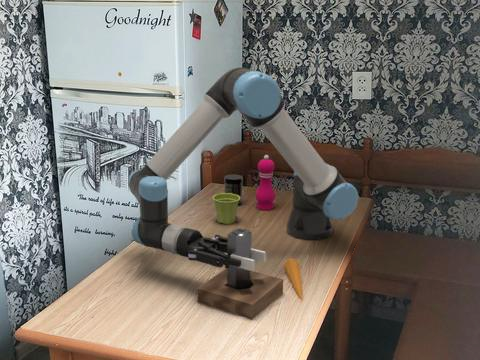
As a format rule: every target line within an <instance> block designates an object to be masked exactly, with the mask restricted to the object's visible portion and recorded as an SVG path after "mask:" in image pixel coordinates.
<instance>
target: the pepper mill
mask: <svg viewBox="0 0 480 360" xmlns="http://www.w3.org/2000/svg"><path fill="white" fill-rule="evenodd" d="M275 167H276V166H275V162H274V161H273V160H272V159H270V157H269V154H265V155H264V156H263V159H261V160H259V162H258V164H257V169H258V171H259V172H258V176H259V178H260V181H259V182H260V183H259V186H258V188H257V190H256V192H255V199H256V200H257V202H256V209H258V210H260V211H270V210H273V209H274V207H275V206H274V205H275V204H274V200H276V192H275V190H274V187H273V184H272V178H273V176H274V175H273V174H274V172H273V171H274V170H275Z"/></svg>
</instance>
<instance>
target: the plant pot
mask: <svg viewBox="0 0 480 360" xmlns="http://www.w3.org/2000/svg"><path fill="white" fill-rule="evenodd" d="M212 200H213V203H214V204H215V205H214V206H215V211H216V219H217V222H218V223H220V224H224V225H230V224H233V223H235V222H236V218H237V217H236V216H237V211H238V206H239V205H238V203H239V200H240V196H238V195H236V194H231V193H225V192H221V193H218V194H214V195H213V196H212ZM237 205H238V206H237Z"/></svg>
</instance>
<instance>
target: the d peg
mask: <svg viewBox="0 0 480 360" xmlns="http://www.w3.org/2000/svg"><path fill="white" fill-rule="evenodd" d="M227 238H228V242H227V253H226V254H227V255H229V257H230V255H231V254H234V255H238V256H241V257H245V258H249V259H251V248H252V231H251V230H248V229H245V228H241V227H237V228H236V229H234V230H232V231H230V232H228V233H227ZM250 282H251V271H250V270H246V269H243V268H239V267H235V266H232V265H229V268H227V287H231V288H234V289H238V290H239V289H248V288H250Z"/></svg>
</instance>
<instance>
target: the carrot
mask: <svg viewBox="0 0 480 360" xmlns="http://www.w3.org/2000/svg"><path fill="white" fill-rule="evenodd" d="M284 271H285V273H286V276H287V277H288V280H289V281H290V283H291V285H292V287H293V290H294V291H296V292H295V293H296V294H297V297H298V296H299V297H298V298H299V300H300V299H301V300H302V301H303V284H302V275H301V266H300V262H299V261H298V260H297V259H295V258H294V257H293V258H292V257H290V258H288V259H286V260H285V261H284ZM301 300H300V301H301Z"/></svg>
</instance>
